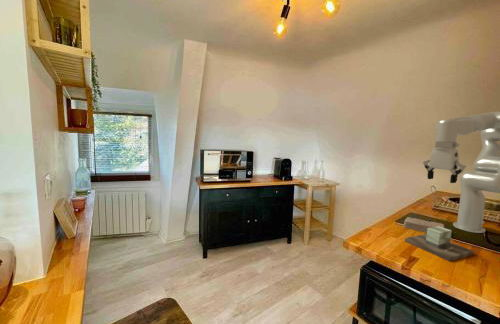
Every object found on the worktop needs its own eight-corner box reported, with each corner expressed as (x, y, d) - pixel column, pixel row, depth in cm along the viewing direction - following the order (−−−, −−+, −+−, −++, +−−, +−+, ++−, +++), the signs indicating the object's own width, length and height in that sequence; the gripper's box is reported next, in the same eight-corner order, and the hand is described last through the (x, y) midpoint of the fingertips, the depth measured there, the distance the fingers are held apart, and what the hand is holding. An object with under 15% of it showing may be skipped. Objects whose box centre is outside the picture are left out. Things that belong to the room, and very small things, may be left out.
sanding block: (437, 240, 104) (439, 226, 103) (449, 245, 99) (451, 230, 98) (425, 243, 101) (427, 228, 100) (438, 248, 97) (439, 232, 96)
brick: (403, 227, 122) (404, 219, 122) (405, 223, 129) (406, 215, 128) (442, 237, 111) (443, 228, 111) (443, 232, 117) (444, 223, 117)
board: (427, 236, 112) (427, 233, 111) (473, 254, 95) (473, 251, 95) (404, 241, 106) (405, 238, 106) (449, 261, 89) (449, 257, 89)
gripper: (472, 146, 100) (468, 184, 102) (430, 144, 116) (427, 177, 118) (462, 146, 97) (457, 185, 99) (420, 144, 113) (417, 178, 115)
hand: (441, 180), depth 109 cm, fingers open, 9 cm apart
